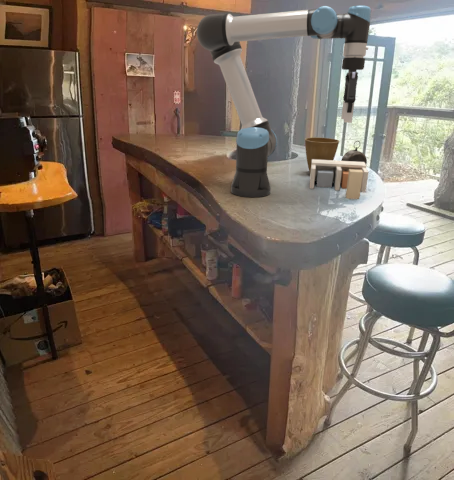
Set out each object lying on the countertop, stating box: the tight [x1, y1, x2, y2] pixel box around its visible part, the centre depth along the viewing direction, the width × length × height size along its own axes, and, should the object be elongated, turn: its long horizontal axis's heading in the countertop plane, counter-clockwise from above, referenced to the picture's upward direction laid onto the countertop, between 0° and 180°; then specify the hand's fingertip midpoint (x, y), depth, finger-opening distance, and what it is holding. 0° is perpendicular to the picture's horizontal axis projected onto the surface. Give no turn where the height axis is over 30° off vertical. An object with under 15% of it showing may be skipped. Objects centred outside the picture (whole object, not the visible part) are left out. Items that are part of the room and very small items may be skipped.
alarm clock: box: [340, 140, 368, 165], centre depth 178 cm, size 11×5×16 cm, turn 104°
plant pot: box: [304, 136, 340, 174], centre depth 182 cm, size 15×15×16 cm
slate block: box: [316, 170, 333, 188], centre depth 165 cm, size 6×6×6 cm
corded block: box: [340, 169, 363, 200], centre depth 156 cm, size 6×21×10 cm, turn 169°
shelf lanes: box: [309, 159, 369, 193], centre depth 165 cm, size 22×16×9 cm
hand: (346, 120), depth 147 cm, fingers open, 13 cm apart
